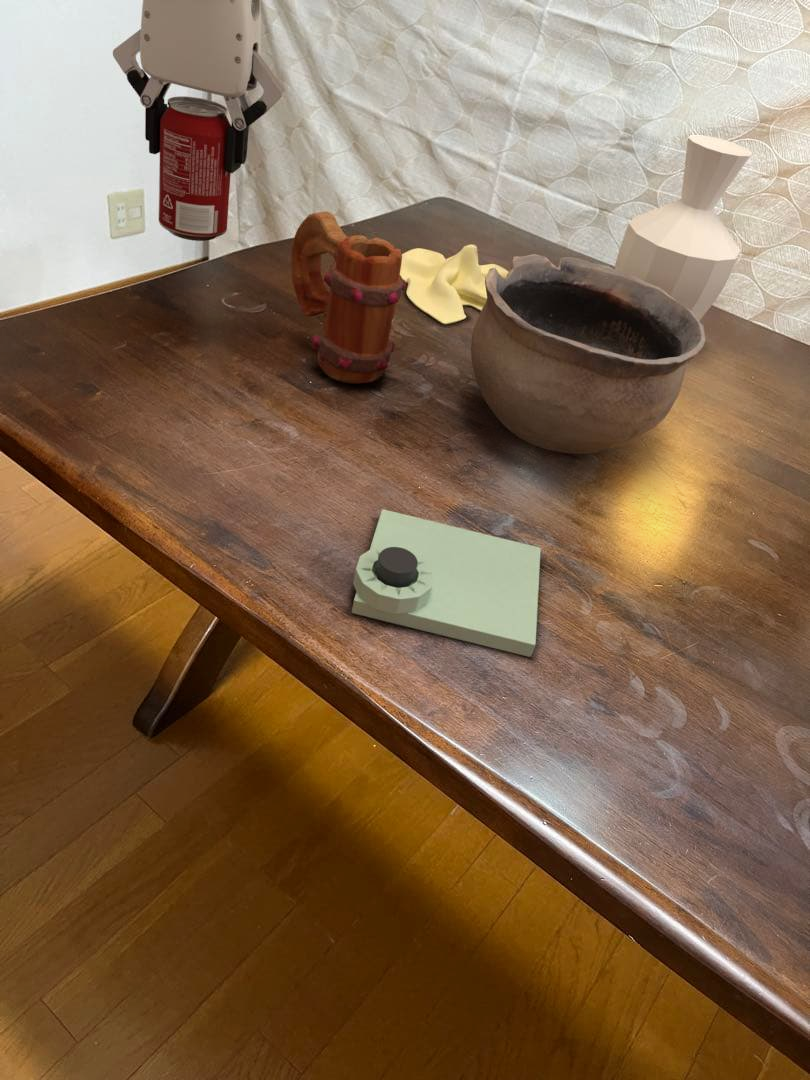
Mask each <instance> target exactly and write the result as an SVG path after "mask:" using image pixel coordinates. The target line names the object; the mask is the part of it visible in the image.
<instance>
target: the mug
mask: <svg viewBox="0 0 810 1080" xmlns="http://www.w3.org/2000/svg"><path fill="white" fill-rule="evenodd" d="M293 238H294V239H293V242H292V246H291V259H290V265H291V267H290V269H291V278H292V284H293V288H294V291H295V295H296V298H297V301H298V303H299V305H300V307H301V310H302V312H303V314H304V315H305V316H306V317H307V318H309V317H315V316H317V315H321V314H325V313H326V314H325V319H324V322H322V324H320V326H319V329H318V331H317V335H315V336H314V337H312V338H311V345H312V347H313V348H314V349H316V350H317V362H318V365H319V367H320V368H321V369H322V371H323V372H324V374H326V375H327V376H328V377H329V378H331V379H333V380H335V381H338V382H341V383H344V384H350V385H351V384H366V383H367V384H368V383H372V382H374V381H375V380H378V379H379V378H380V377H382V375H383V371H385V370H386V369H388V364H389V362H390V358H391V354H392V353H393V352H394V351H395V348H396V346H395V344H394V342H392V341H391V339H390V334H391V329H392V323H393V320H394V317H395V312H396V305H397V303H398V302H399V300H400V299H401V296H402V293H403V292H402V291H404V290H405V288H406V287H407V283H406V282H405V280H404V279H402V277H401V276H400V269H401V263H402V254H403V253H402V251H401V250H400V249H399V248H395V246H394V245H393V244H392V243H391V242H390V241H388V240H385V239H383V238H379V237H373V238H372V239H368V237H366V236H365V235H362V234H360V235H359V234H358V235H350V236H348V235H346V234H345V233H344V231H343V230H342V228H341V226H340V225H339V223H338V220H337V219H336V216H335V215H334V214H333V213H331V212H329V211H320V212H314V213H310V214H308V215H307V216H306V217H305V218H304V219H303V221H302V222H301V223H300V225H299V226H298V228H297V229H296V232H295V234H294V237H293ZM325 254H329V255H331V256H332V257H333V258H334V260H333V262H332V264H330V266H329V270H328V272H327V273H326V274H325V275H324V276H323V275H322V255H325ZM325 283H326V285H327V286H328V287H329V291H328V288H327V287H326V285H325Z"/></svg>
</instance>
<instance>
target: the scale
mask: <svg viewBox="0 0 810 1080" xmlns="http://www.w3.org/2000/svg"><path fill="white" fill-rule="evenodd" d="M389 547H400V548H404V549H406V550H408V551H410V552H411V553H413V554H414V555H415V557H416V558H417V561H418V565H417V569H416V573H415V577H414V580H413V582H412V583H411V584H410V585H409V586H407V587H402V588H396V587H392V586H388V585H385V584H383V583H382V582H381V581H379V580H378V579H377V577H376V574H375V571H376V566H377V561H378V557H379V554H380V552H381V551H382V550H384V549H386V548H389ZM541 551H542V548H541V547H539V546H535V545H532V544H527V543H524V542H523V543H522V542H520V541H519V542H518V541H515V540H510V539H506V538H502V537H498V536H494V535H490V534H486V533H482V532H478V531H473V530H470V529H466V528H462V527H458V526H453V525H450V524H445V523H441V522H437V521H433V520H429V519H426V518H422V517H416V516H412V515H408V514H405V513H401V512H396V511H392V510H388V509H384V508H382V509H381V512H380V515H379V517H378V521H377V524H376V528H375V529H374V534H373V537H372V540H371V544H370V547H369V550H367V551H365V552H364V553H362V554H361V555H360V556H359V557H358V559H357V564H356V566H355V571H354V576H353V580H352V585H353V587H354V590H355V591H356V592H355V596H354V599H353V603H352V608H351V614H354V615H358V616H361V617H366V618H371V619H373V620H378V621H382V622H385V623H390V624H394V625H399V626H402V627H406V628H411V629H414V630H417V631H423V632H428V633H431V634H434V635H439V636H443V637H448V638H450V639H451V638H452V639H455V640H459V641H464V642H467V643H471V644H475V645H480V646H483V647H488V648H492V649H496V650H500V651H504V652H508V653H512V654H515V655H521V656H524V657H528V658H531V657H532V655H533V652H534V651H535V648H536V644H537V643H536V642H537V626H538V624H537V623H538V606H539V605H538V604H539V590H540V589H539V586H540V585H539V584H540V567H541Z"/></svg>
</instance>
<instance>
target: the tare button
mask: <svg viewBox="0 0 810 1080" xmlns="http://www.w3.org/2000/svg"><path fill="white" fill-rule="evenodd" d="M417 565H418V561H417V558H416V557H415V555H414V554H413V553H411V552H410V551H408V550H406V549H404V548H400V547H389V548H386V549H384V550H382V551H381V552H380V554H379V557H378V561H377V566H376V571H375V574H376V577H377V579H378V580H379V581H381V582H382V583H383V584H385V585H388V586H392V587H396V588H402V587H407V586H409V585H410V584H411V583H412V582H413V580H414V577H415V573H416V569H417Z"/></svg>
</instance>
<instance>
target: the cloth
mask: <svg viewBox="0 0 810 1080" xmlns="http://www.w3.org/2000/svg"><path fill="white" fill-rule="evenodd" d="M491 268H496V270H497V271H498V273H499V274H500V275H501V276H502V277H504V278H506V277H507V274H508V272H509V271H508V270H507V269H505V268H504V267H502V266H500V265H498V264H495V263H488V264H479V254H478V247H477V245H476V244H468V245H465V246H463V247H462V249H461V250H460V251H459V252H458V253H456V254H454V255H452V256H449V257H448V258H445V256H444V254H442V253H440V252H437V251H434V250H431V249H425V248H421V247H417V248H412V249H410V250H408V251H405V252H404V253H402V263H401V269H400V276H401V277H402V279H404V280H405V282H406V284H407V288H406V297H407V298H408V299H409V300H410V302H411V303H412V304H413V305H414V306H416V307H417V308H418V309H419V310H421V311H422V312H424V313H425V314H427V315H428V316H430V317H432V318H433V319H435V320H436V321H437V322H438V323H441V324H442V325H450V324H454V323H457V322H461V321H463V320H465V319H466V318H467V315H466V314H465V311H464V306H470V307H473V308H475V309H476V310H478V311H480V312H481V310H482V309H483V307H484V305H485V303H486V301H487V293H486V286H485V278H486V275H487V273H488V271H489V269H491Z"/></svg>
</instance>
